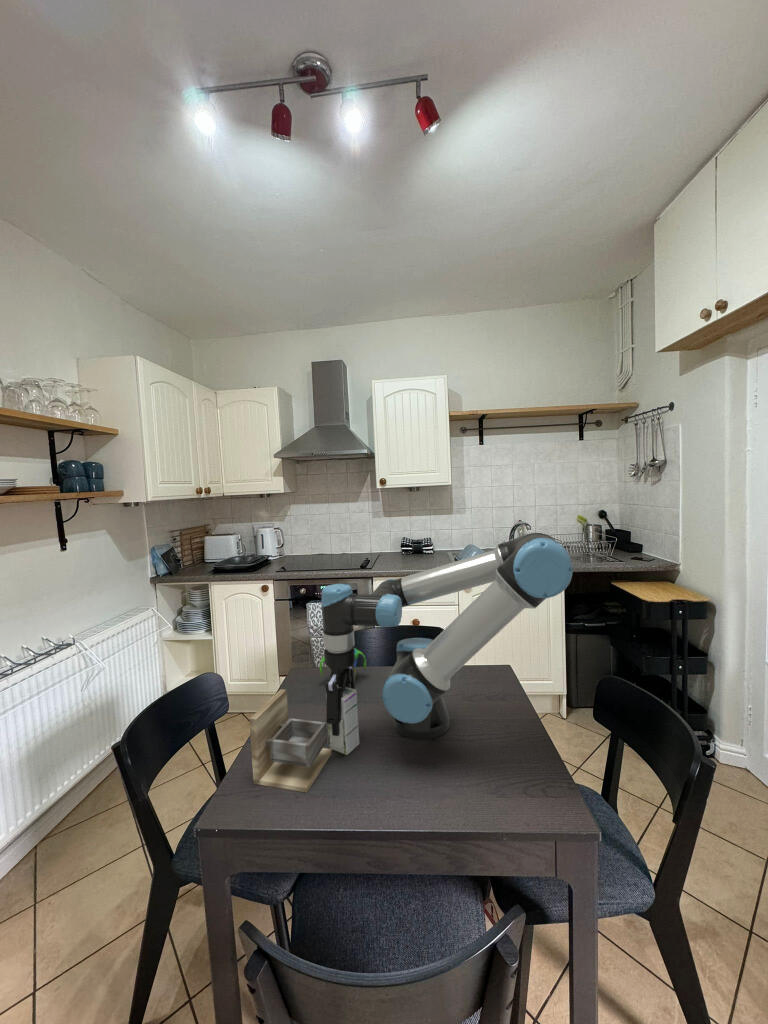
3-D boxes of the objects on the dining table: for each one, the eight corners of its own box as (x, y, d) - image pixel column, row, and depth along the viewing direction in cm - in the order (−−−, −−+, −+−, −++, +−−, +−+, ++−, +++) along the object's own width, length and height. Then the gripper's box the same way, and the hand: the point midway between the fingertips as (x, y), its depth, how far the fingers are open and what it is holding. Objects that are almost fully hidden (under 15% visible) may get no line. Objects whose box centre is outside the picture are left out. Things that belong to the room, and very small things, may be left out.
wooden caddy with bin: (331, 753, 107) (328, 693, 106) (306, 792, 94) (303, 725, 93) (284, 746, 111) (280, 689, 110) (253, 783, 97) (249, 718, 96)
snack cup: (364, 672, 152) (362, 643, 152) (369, 685, 142) (368, 654, 142) (319, 678, 149) (317, 649, 148) (321, 692, 139) (320, 661, 138)
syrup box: (360, 743, 110) (357, 688, 109) (346, 756, 105) (343, 698, 104) (342, 737, 113) (339, 683, 112) (327, 749, 108) (324, 693, 108)
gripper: (339, 633, 118) (343, 714, 120) (307, 663, 99) (313, 759, 101) (366, 634, 116) (369, 717, 118) (338, 665, 97) (343, 764, 99)
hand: (343, 736), depth 109 cm, fingers closed on syrup box, 7 cm apart
